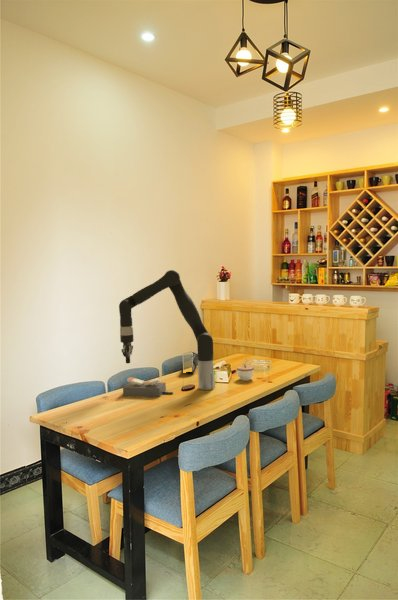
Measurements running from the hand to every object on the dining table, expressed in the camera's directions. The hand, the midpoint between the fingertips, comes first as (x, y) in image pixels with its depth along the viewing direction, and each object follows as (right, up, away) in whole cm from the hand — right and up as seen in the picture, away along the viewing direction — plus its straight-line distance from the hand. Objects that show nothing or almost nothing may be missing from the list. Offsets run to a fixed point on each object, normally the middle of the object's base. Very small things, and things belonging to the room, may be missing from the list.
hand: (128, 363), depth 265 cm
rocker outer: (+4, -12, 0) cm, 12 cm away
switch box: (+13, -18, -1) cm, 22 cm away
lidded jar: (+71, -14, +23) cm, 76 cm away
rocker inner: (+15, -11, -2) cm, 19 cm away
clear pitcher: (+36, -13, +54) cm, 66 cm away
